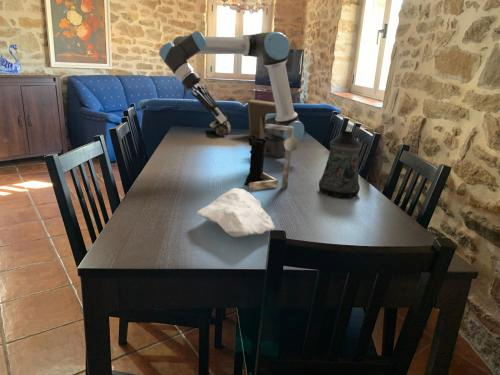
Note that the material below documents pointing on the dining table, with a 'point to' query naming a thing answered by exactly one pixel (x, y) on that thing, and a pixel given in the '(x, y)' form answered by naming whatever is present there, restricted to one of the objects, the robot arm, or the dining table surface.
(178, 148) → the dining table surface
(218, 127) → the hollow geode rock
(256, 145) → the chess piece
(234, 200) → the white rock
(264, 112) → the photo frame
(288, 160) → the centring cradle
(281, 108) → the robot arm
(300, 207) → the dining table surface
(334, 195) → the beer stein
